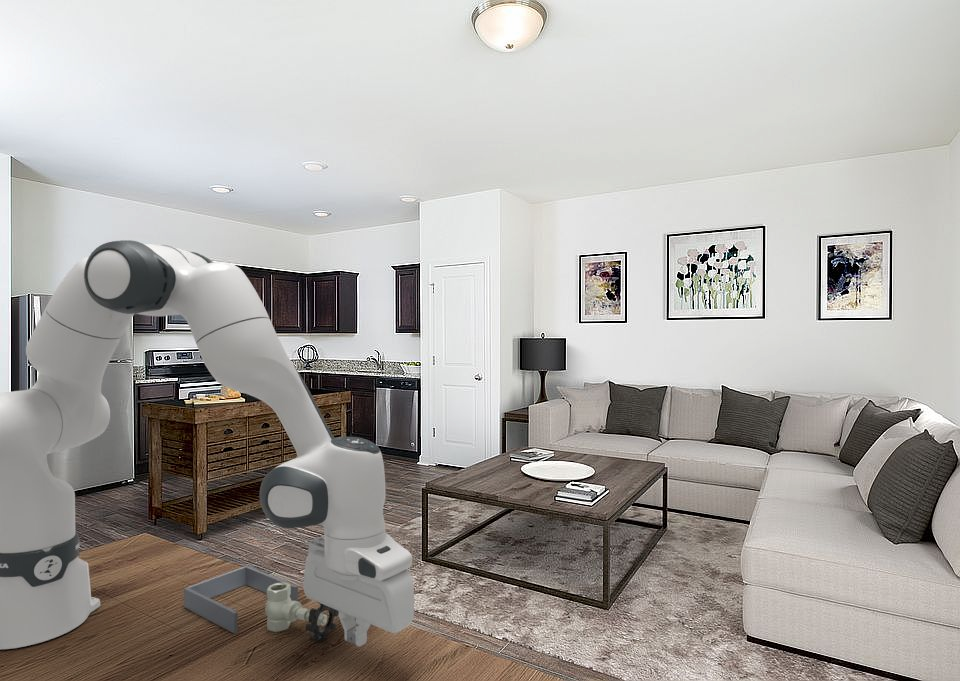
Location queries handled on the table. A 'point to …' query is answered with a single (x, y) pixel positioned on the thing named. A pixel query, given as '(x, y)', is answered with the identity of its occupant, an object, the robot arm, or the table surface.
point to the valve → (296, 613)
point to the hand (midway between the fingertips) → (355, 642)
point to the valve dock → (216, 612)
